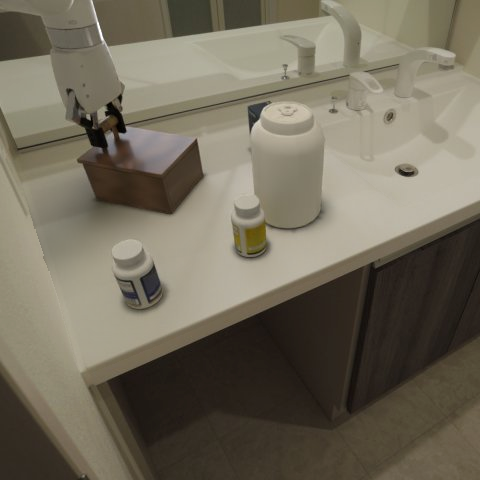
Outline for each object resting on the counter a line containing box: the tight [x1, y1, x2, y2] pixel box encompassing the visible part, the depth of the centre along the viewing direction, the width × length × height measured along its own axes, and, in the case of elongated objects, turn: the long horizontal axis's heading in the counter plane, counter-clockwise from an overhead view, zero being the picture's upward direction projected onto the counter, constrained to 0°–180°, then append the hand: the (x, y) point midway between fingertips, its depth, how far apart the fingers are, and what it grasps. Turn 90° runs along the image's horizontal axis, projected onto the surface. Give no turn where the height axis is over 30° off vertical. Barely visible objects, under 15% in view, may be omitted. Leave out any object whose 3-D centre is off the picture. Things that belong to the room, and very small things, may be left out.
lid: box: [76, 115, 199, 178], centre depth 76 cm, size 16×14×5 cm
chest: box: [82, 142, 204, 215], centre depth 80 cm, size 16×14×8 cm
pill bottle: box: [110, 238, 164, 310], centre depth 59 cm, size 5×5×10 cm
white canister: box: [249, 100, 326, 229], centre depth 73 cm, size 12×12×20 cm
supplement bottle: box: [230, 193, 268, 258], centre depth 68 cm, size 5×5×10 cm
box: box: [247, 100, 273, 135], centre depth 91 cm, size 8×6×11 cm
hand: (109, 138), depth 78 cm, fingers closed on lid, 5 cm apart
